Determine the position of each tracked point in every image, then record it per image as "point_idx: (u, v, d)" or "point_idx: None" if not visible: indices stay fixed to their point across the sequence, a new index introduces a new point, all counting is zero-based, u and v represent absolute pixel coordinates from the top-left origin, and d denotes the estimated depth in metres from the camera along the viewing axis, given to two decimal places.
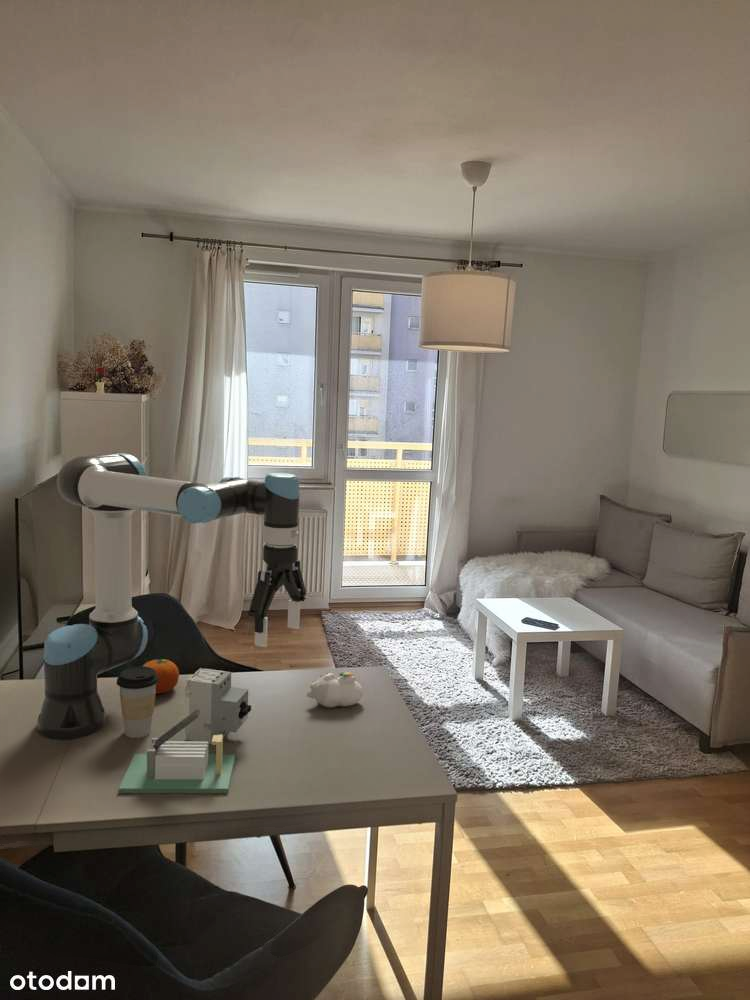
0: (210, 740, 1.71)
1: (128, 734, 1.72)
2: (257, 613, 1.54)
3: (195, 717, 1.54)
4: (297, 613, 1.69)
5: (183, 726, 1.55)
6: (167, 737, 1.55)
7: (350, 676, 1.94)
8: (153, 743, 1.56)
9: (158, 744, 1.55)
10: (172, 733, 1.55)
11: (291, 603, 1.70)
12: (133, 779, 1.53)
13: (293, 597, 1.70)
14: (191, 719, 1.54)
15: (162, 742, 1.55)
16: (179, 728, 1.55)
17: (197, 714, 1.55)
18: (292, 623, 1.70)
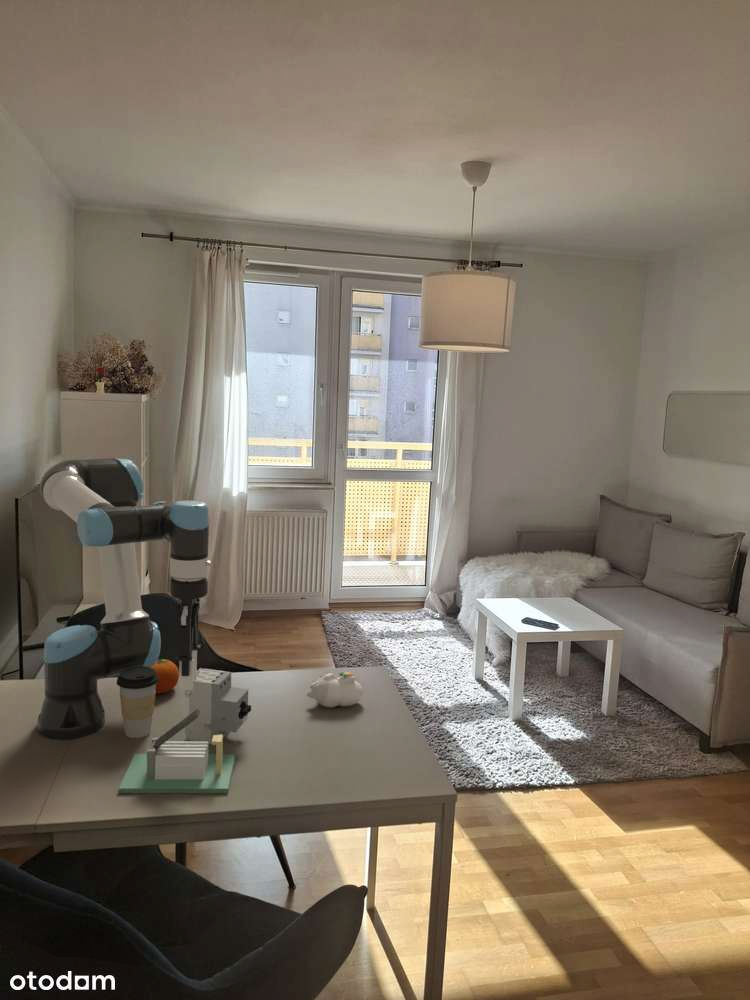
0: (210, 740, 1.71)
1: (128, 734, 1.72)
2: (188, 658, 1.48)
3: (195, 717, 1.54)
4: (195, 663, 1.56)
5: (183, 726, 1.55)
6: (167, 737, 1.55)
7: (350, 676, 1.94)
8: (153, 743, 1.56)
9: (158, 744, 1.55)
10: (172, 733, 1.55)
11: None
12: (133, 779, 1.53)
13: None
14: (191, 719, 1.54)
15: (162, 742, 1.55)
16: (179, 728, 1.55)
17: (197, 714, 1.55)
18: None
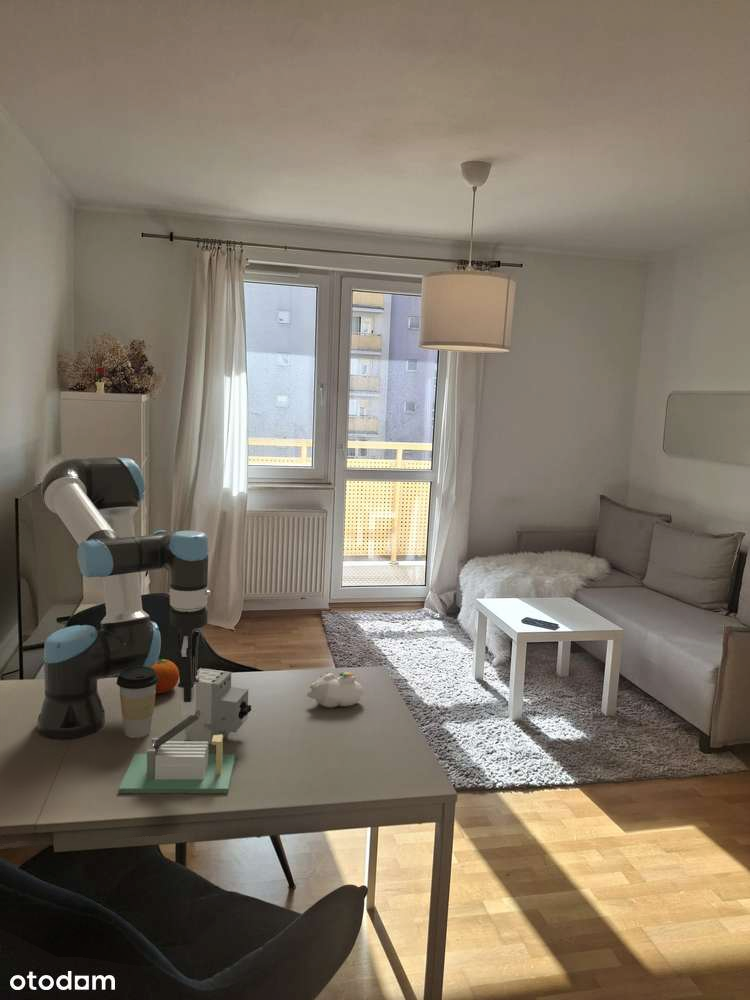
0: (210, 740, 1.71)
1: (128, 734, 1.72)
2: (190, 685, 1.51)
3: (196, 718, 1.54)
4: None
5: (184, 727, 1.55)
6: (167, 737, 1.55)
7: (350, 676, 1.94)
8: (153, 743, 1.56)
9: (158, 744, 1.55)
10: (172, 733, 1.55)
11: None
12: (133, 779, 1.53)
13: None
14: (192, 720, 1.54)
15: (162, 742, 1.55)
16: (180, 729, 1.55)
17: (198, 715, 1.55)
18: None
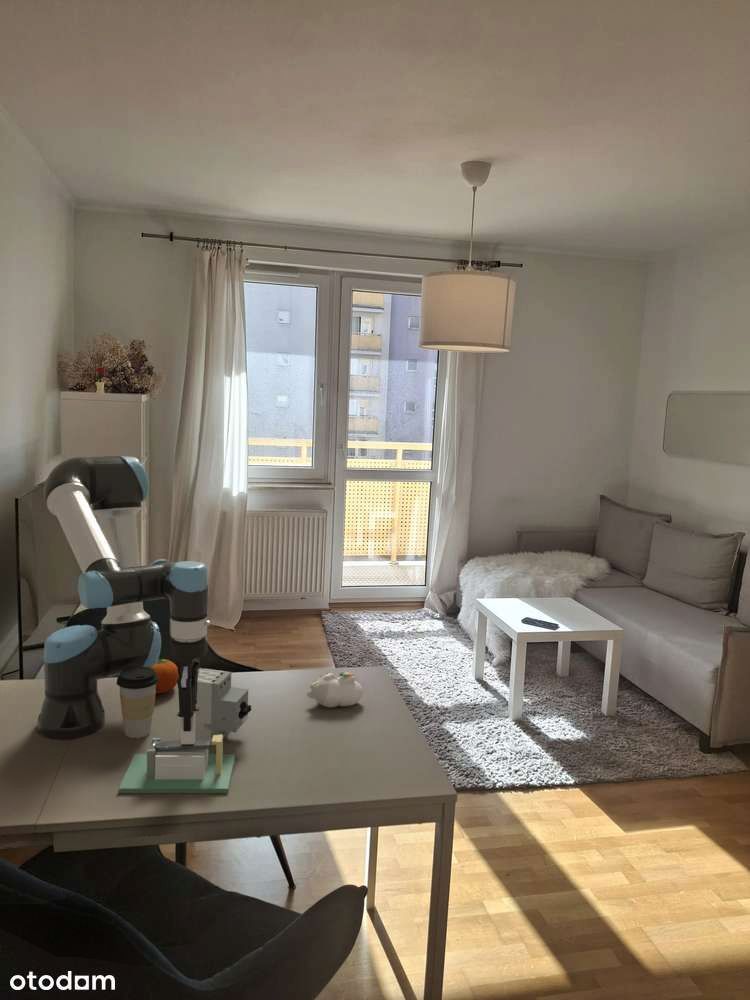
0: None
1: (128, 734, 1.72)
2: (190, 715, 1.52)
3: (207, 747, 1.56)
4: None
5: (192, 747, 1.55)
6: (172, 748, 1.55)
7: (350, 676, 1.94)
8: (155, 743, 1.56)
9: (160, 748, 1.55)
10: (179, 747, 1.55)
11: None
12: (133, 779, 1.53)
13: None
14: (203, 746, 1.56)
15: (165, 749, 1.55)
16: (187, 747, 1.55)
17: (210, 745, 1.56)
18: None
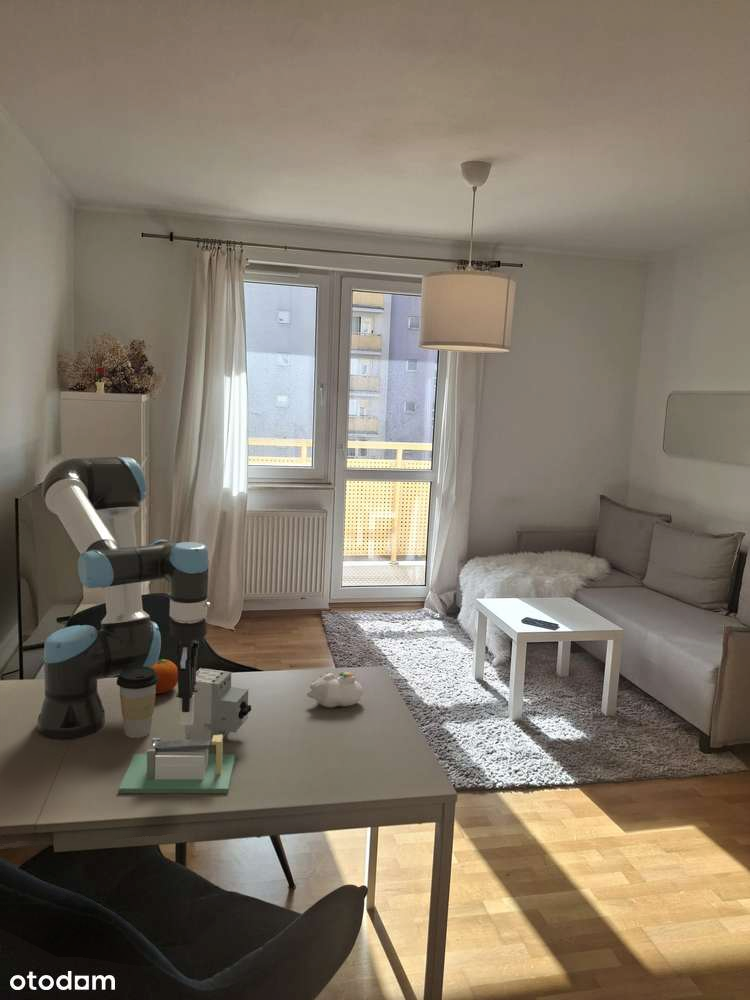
0: None
1: (128, 734, 1.72)
2: (189, 696, 1.51)
3: (207, 747, 1.56)
4: None
5: (192, 747, 1.55)
6: (172, 748, 1.55)
7: (350, 676, 1.94)
8: (155, 743, 1.56)
9: (160, 748, 1.55)
10: (179, 747, 1.55)
11: None
12: (133, 779, 1.53)
13: None
14: (203, 746, 1.56)
15: (165, 749, 1.55)
16: (187, 747, 1.55)
17: (210, 745, 1.56)
18: None
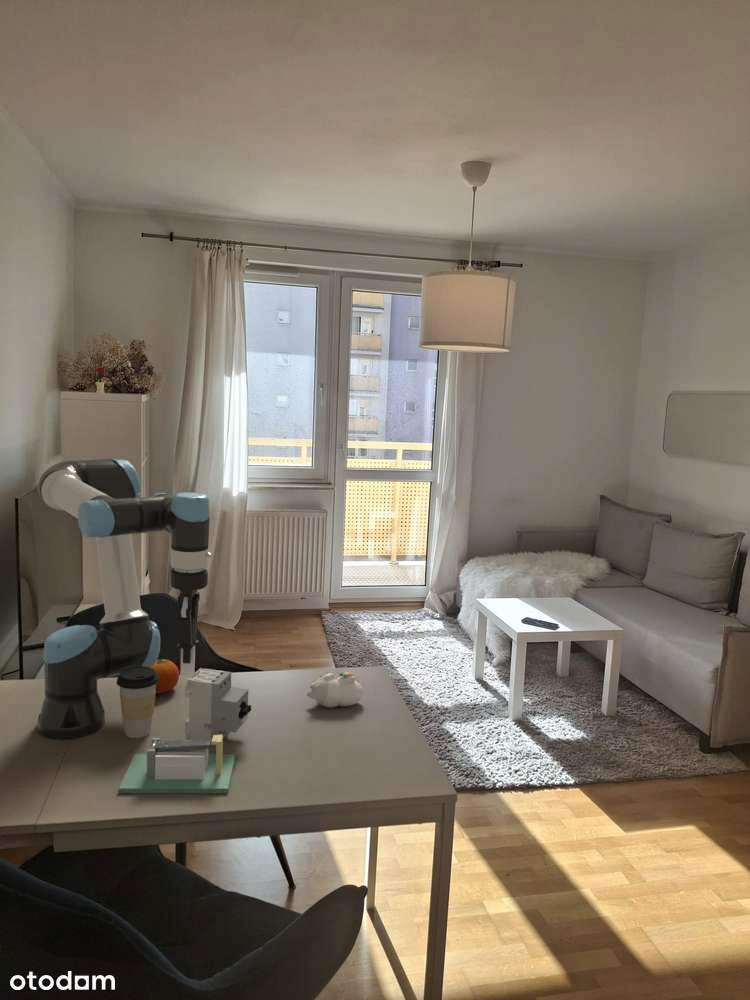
0: None
1: (128, 734, 1.72)
2: (189, 646, 1.51)
3: (207, 747, 1.56)
4: None
5: (192, 747, 1.55)
6: (172, 748, 1.55)
7: (350, 676, 1.94)
8: (155, 743, 1.56)
9: (160, 748, 1.55)
10: (179, 747, 1.55)
11: None
12: (133, 779, 1.53)
13: None
14: (203, 746, 1.56)
15: (165, 749, 1.55)
16: (187, 747, 1.55)
17: (210, 745, 1.56)
18: None
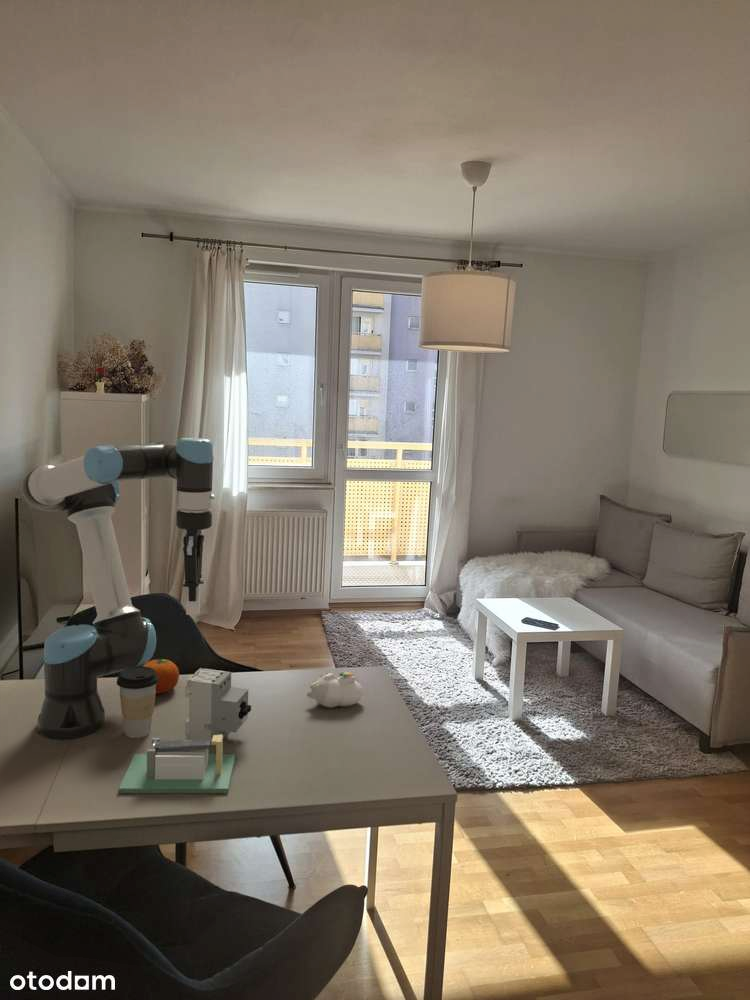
0: None
1: (128, 734, 1.72)
2: (195, 583, 1.59)
3: (207, 747, 1.56)
4: None
5: (192, 747, 1.55)
6: (172, 748, 1.55)
7: (350, 676, 1.94)
8: (155, 743, 1.56)
9: (160, 748, 1.55)
10: (179, 747, 1.55)
11: None
12: (133, 779, 1.53)
13: None
14: (203, 746, 1.56)
15: (165, 749, 1.55)
16: (187, 747, 1.55)
17: (210, 745, 1.56)
18: None
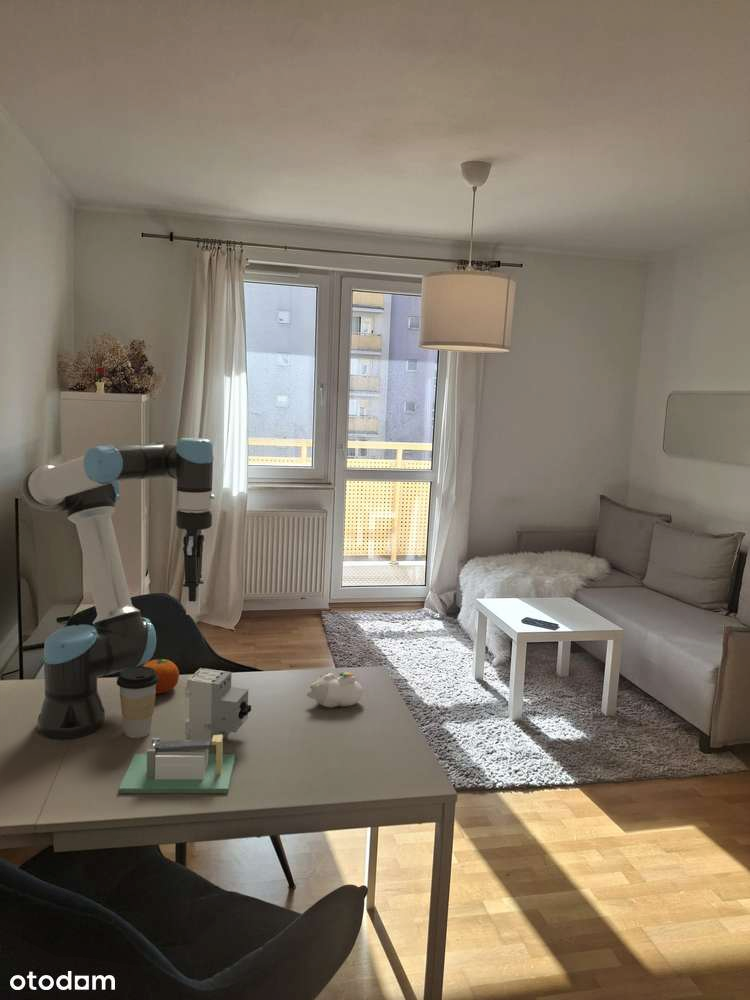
0: None
1: (128, 734, 1.72)
2: (195, 583, 1.59)
3: (207, 747, 1.56)
4: None
5: (192, 747, 1.55)
6: (172, 748, 1.55)
7: (350, 676, 1.94)
8: (155, 743, 1.56)
9: (160, 748, 1.55)
10: (179, 747, 1.55)
11: None
12: (133, 779, 1.53)
13: None
14: (203, 746, 1.56)
15: (165, 749, 1.55)
16: (187, 747, 1.55)
17: (210, 745, 1.56)
18: None
